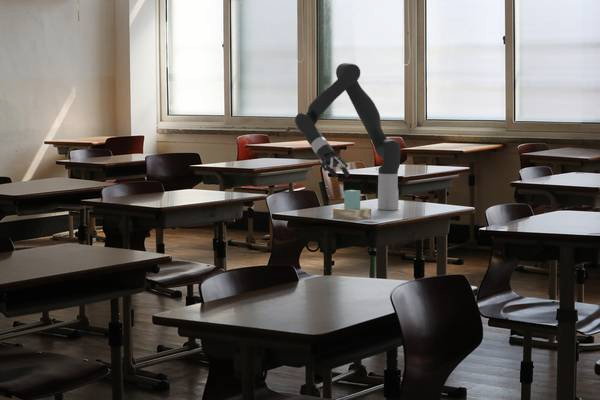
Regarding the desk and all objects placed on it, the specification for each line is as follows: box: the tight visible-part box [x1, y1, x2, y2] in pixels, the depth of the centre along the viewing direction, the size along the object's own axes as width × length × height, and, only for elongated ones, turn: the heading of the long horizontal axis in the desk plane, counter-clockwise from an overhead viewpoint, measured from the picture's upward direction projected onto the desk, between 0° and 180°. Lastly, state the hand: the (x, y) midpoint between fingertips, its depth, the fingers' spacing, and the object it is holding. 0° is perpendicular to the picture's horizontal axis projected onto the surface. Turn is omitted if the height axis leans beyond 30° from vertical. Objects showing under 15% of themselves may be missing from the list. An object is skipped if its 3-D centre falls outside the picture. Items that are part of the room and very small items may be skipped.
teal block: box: [343, 189, 361, 210], centre depth 442 cm, size 5×5×8 cm
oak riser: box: [332, 207, 372, 221], centre depth 443 cm, size 12×12×4 cm
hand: (342, 176), depth 445 cm, fingers open, 8 cm apart
